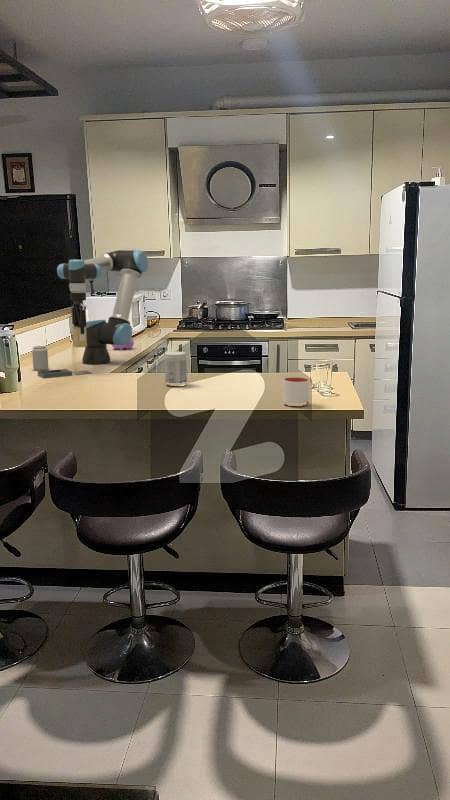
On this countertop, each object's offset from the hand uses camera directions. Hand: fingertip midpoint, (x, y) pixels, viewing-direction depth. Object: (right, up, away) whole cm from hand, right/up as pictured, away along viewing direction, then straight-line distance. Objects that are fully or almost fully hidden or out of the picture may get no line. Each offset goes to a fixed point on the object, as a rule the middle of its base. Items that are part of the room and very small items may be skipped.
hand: (79, 339), depth 303 cm
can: (-23, -14, +12) cm, 30 cm away
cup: (+99, -32, -63) cm, 121 cm away
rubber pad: (0, -16, +4) cm, 16 cm away
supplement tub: (+49, -23, -26) cm, 60 cm away
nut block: (0, -3, +1) cm, 3 cm away
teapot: (+7, +2, +88) cm, 89 cm away
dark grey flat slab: (-11, -18, -4) cm, 21 cm away
